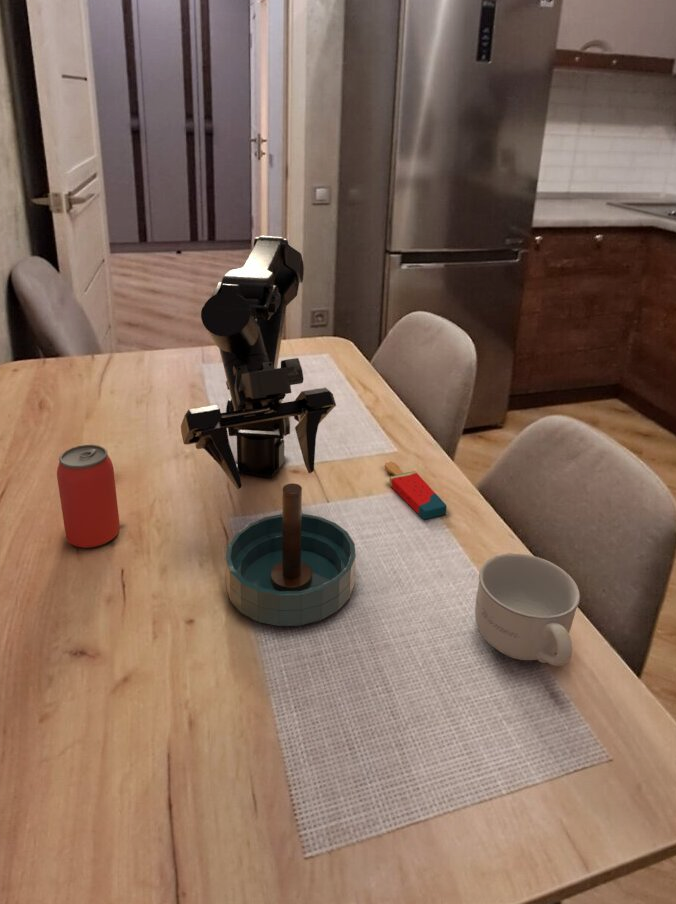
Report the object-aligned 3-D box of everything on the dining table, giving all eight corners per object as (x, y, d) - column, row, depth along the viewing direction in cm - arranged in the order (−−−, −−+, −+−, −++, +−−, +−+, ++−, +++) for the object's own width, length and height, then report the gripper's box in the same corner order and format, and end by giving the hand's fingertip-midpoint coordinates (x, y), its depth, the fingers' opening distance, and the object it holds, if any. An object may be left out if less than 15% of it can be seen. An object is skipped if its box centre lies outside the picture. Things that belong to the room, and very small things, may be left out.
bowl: (205, 615, 76) (203, 579, 74) (256, 536, 89) (255, 505, 87) (334, 642, 73) (335, 606, 71) (366, 556, 87) (368, 524, 85)
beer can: (131, 527, 90) (123, 448, 85) (96, 555, 84) (86, 473, 79) (91, 515, 92) (81, 438, 87) (54, 542, 86) (41, 461, 81)
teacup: (463, 604, 80) (470, 549, 77) (551, 603, 81) (561, 549, 78) (489, 703, 67) (499, 641, 64) (594, 700, 68) (608, 639, 65)
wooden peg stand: (264, 589, 79) (263, 496, 74) (279, 563, 84) (279, 473, 79) (304, 597, 78) (306, 503, 73) (317, 570, 83) (319, 480, 78)
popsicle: (400, 456, 109) (449, 505, 96) (400, 464, 109) (448, 513, 97) (376, 461, 107) (422, 512, 94) (375, 469, 107) (421, 520, 95)
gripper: (180, 346, 75) (210, 479, 70) (332, 328, 83) (368, 446, 79) (169, 383, 84) (195, 503, 80) (307, 364, 93) (337, 471, 88)
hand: (276, 480), depth 81 cm, fingers open, 9 cm apart
